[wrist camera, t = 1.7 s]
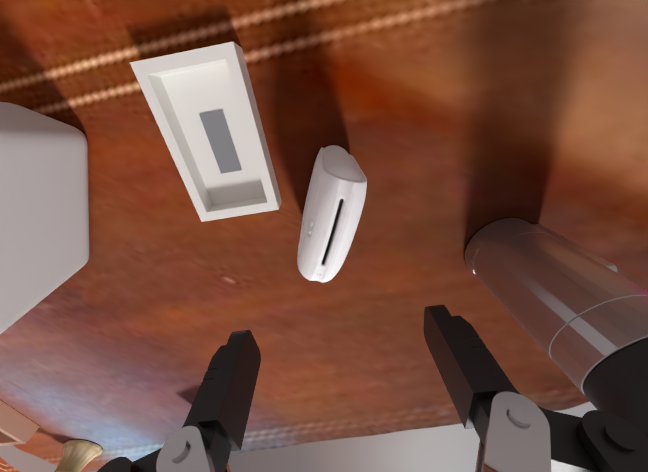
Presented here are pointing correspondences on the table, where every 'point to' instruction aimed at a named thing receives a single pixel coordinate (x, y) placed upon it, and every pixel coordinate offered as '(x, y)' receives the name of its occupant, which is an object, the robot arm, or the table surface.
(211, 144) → the dock
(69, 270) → the radio
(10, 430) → the brown square frame
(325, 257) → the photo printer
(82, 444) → the hand bell
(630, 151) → the table surface
